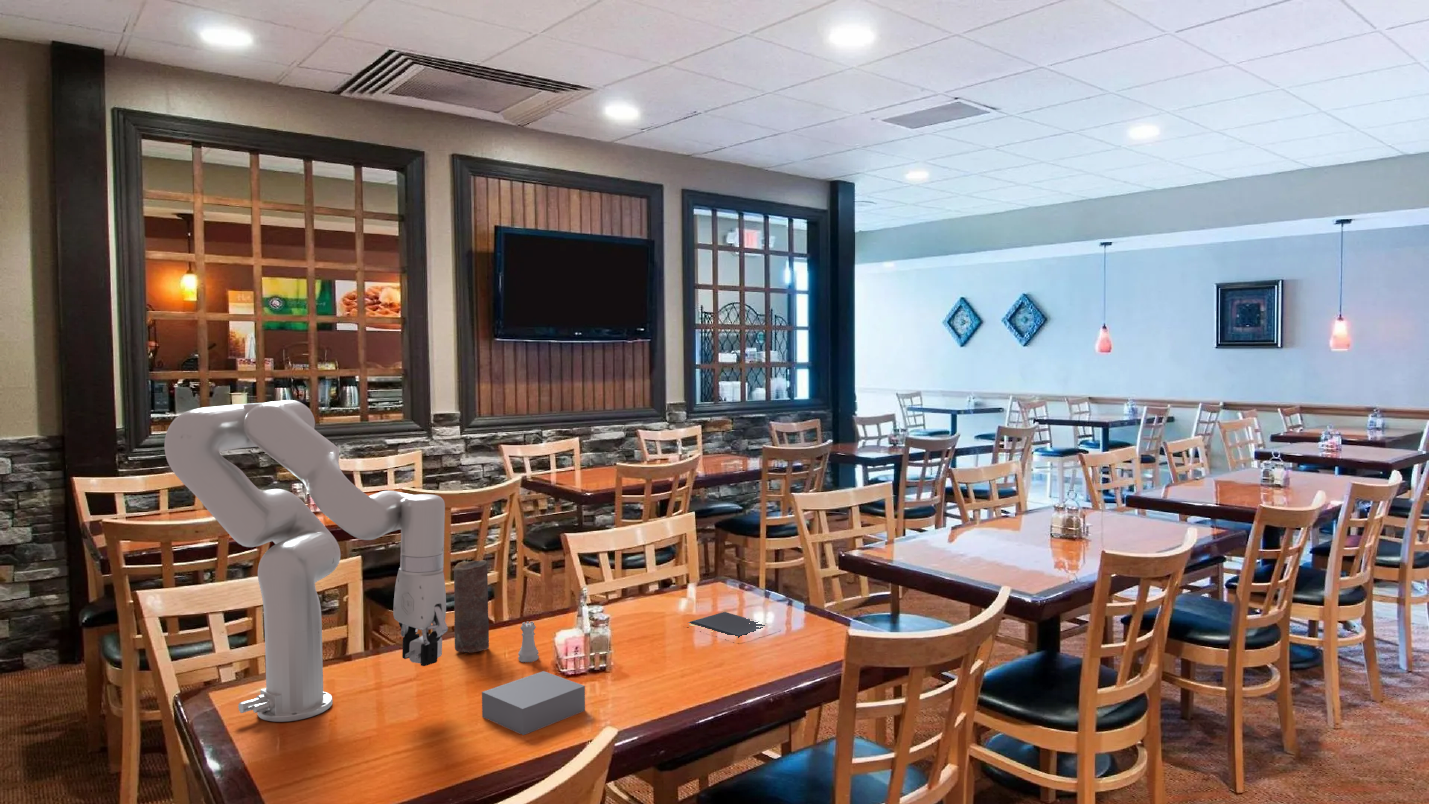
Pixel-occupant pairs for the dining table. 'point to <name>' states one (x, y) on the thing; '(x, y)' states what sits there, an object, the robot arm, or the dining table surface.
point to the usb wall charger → (416, 650)
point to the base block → (533, 702)
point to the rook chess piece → (528, 643)
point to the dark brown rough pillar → (471, 606)
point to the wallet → (727, 624)
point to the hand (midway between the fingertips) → (419, 659)
